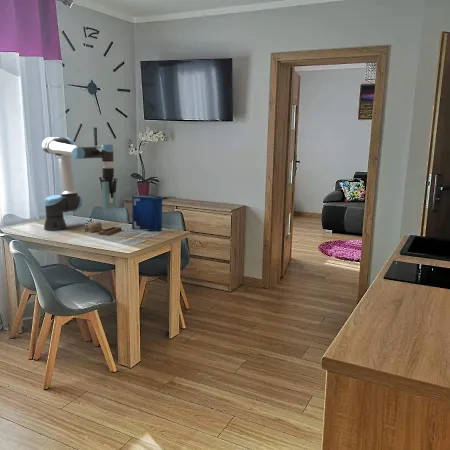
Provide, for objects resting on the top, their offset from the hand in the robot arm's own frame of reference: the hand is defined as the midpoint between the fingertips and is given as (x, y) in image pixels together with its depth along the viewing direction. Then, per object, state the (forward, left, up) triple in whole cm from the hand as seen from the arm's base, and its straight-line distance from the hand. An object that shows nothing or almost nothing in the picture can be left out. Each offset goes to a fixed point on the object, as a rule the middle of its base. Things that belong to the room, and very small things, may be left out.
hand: (109, 202), depth 302 cm
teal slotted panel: (0, 0, -4) cm, 4 cm away
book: (+17, +21, -22) cm, 35 cm away
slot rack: (0, 0, -22) cm, 22 cm away
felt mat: (+13, 0, -22) cm, 26 cm away
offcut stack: (-14, 0, -22) cm, 26 cm away
